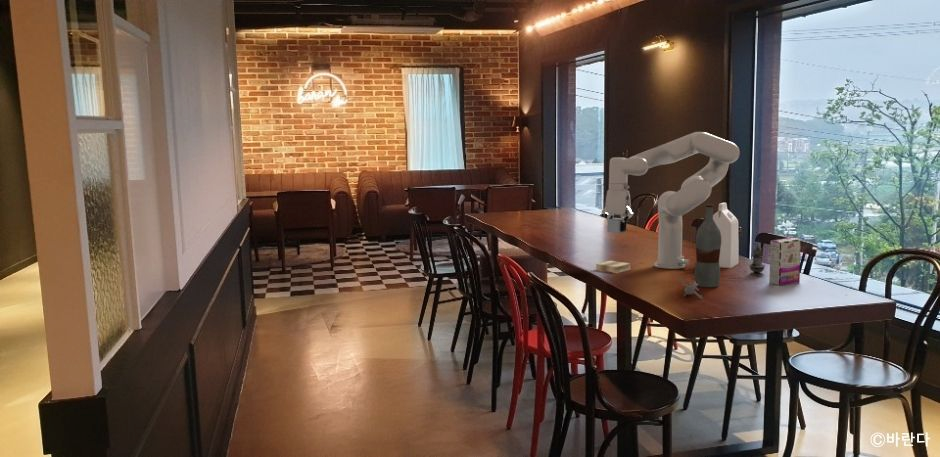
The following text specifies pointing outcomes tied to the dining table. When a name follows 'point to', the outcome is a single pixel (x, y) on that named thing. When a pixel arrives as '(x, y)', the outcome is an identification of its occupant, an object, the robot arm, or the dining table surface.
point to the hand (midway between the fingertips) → (616, 230)
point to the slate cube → (614, 225)
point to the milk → (727, 236)
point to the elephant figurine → (691, 289)
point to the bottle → (708, 251)
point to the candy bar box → (785, 261)
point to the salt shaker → (757, 263)
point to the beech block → (613, 266)
